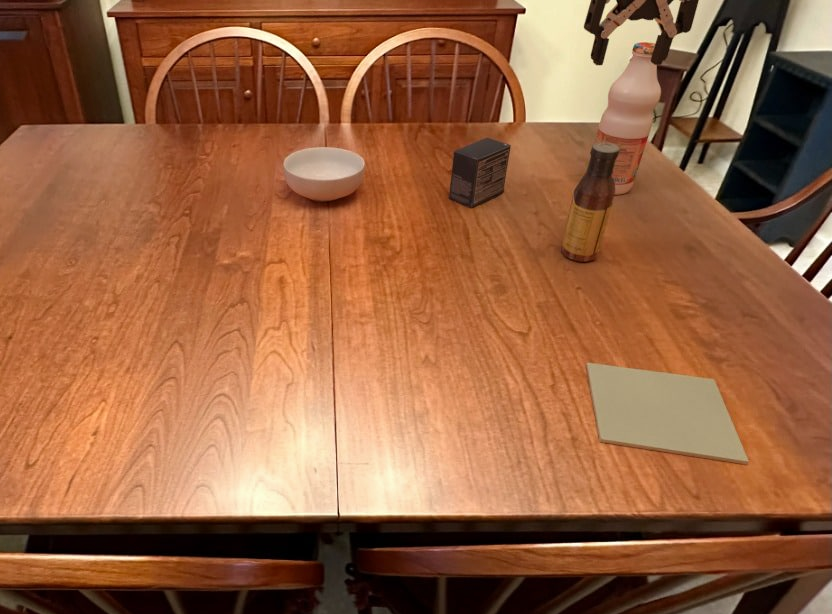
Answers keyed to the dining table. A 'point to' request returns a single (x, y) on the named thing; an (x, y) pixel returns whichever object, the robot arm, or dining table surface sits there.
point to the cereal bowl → (324, 172)
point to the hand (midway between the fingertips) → (626, 63)
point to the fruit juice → (630, 114)
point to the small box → (479, 172)
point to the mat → (663, 413)
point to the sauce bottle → (591, 205)
